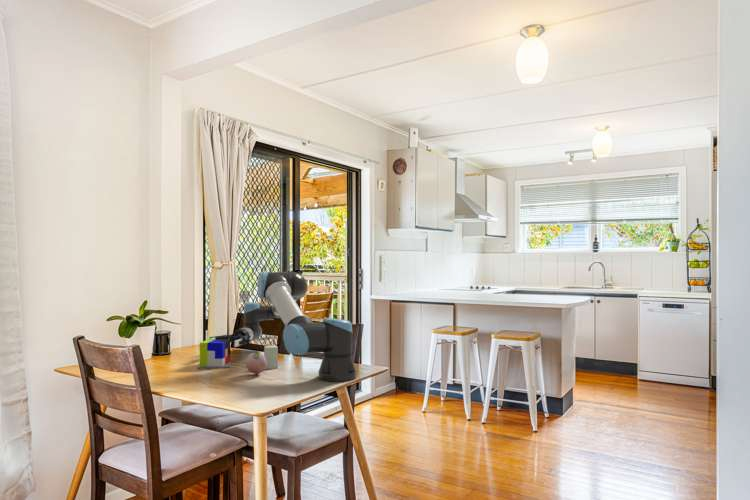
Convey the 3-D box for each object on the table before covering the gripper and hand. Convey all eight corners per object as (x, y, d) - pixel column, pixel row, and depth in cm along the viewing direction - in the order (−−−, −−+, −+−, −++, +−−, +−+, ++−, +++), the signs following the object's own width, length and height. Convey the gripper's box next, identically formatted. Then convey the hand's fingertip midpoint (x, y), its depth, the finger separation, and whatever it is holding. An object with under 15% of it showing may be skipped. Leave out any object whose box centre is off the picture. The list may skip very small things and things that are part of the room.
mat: (229, 367, 219) (229, 366, 219) (197, 369, 217) (197, 367, 217) (231, 361, 232) (231, 360, 232) (201, 362, 229) (201, 361, 229)
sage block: (277, 368, 219) (277, 347, 219) (266, 369, 217) (266, 348, 217) (275, 365, 223) (275, 345, 224) (264, 366, 222) (264, 346, 222)
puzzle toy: (222, 366, 219) (222, 343, 219) (199, 366, 220) (199, 342, 220) (230, 361, 229) (230, 339, 229) (208, 361, 230) (208, 339, 230)
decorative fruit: (244, 373, 210) (244, 348, 210) (265, 371, 212) (265, 347, 212) (246, 378, 201) (246, 352, 201) (267, 376, 203) (267, 351, 203)
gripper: (266, 344, 248) (246, 353, 227) (219, 342, 253) (195, 350, 233) (266, 329, 248) (246, 336, 227) (219, 327, 253) (196, 334, 233)
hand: (220, 343), depth 230 cm, fingers open, 13 cm apart
